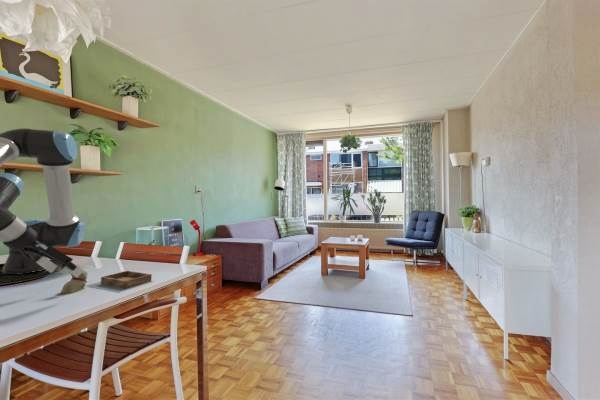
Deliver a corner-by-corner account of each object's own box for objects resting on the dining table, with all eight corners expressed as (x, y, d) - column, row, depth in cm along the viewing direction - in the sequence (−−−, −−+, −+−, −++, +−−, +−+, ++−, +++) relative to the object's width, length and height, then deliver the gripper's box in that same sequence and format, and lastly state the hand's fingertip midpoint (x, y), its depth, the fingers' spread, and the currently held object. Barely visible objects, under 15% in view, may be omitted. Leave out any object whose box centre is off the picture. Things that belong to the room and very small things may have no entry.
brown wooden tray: (100, 284, 114) (101, 277, 114) (127, 277, 125) (127, 270, 125) (126, 288, 110) (126, 281, 110) (151, 281, 121) (151, 274, 121)
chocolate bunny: (88, 291, 107) (89, 264, 107) (60, 295, 101) (61, 267, 101) (86, 287, 111) (87, 261, 111) (59, 291, 105) (60, 264, 105)
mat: (84, 287, 111) (84, 286, 111) (122, 276, 126) (122, 276, 126) (118, 293, 105) (118, 292, 105) (153, 282, 120) (153, 281, 120)
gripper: (-21, 240, 90) (35, 276, 104) (29, 247, 82) (82, 285, 96) (2, 222, 95) (52, 259, 109) (51, 226, 87) (99, 266, 101)
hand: (66, 271), depth 103 cm, fingers open, 13 cm apart
